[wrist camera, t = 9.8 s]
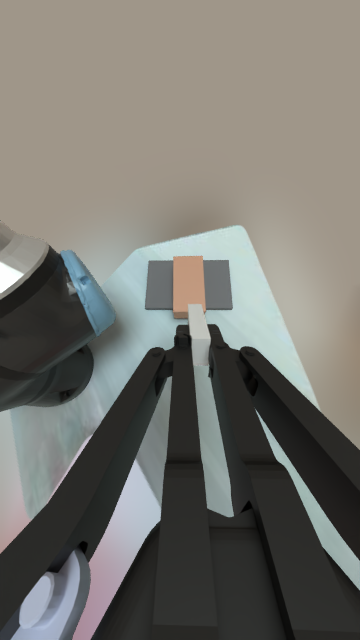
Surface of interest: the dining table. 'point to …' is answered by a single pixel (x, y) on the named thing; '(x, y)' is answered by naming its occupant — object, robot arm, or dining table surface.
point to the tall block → (187, 284)
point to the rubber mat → (214, 284)
